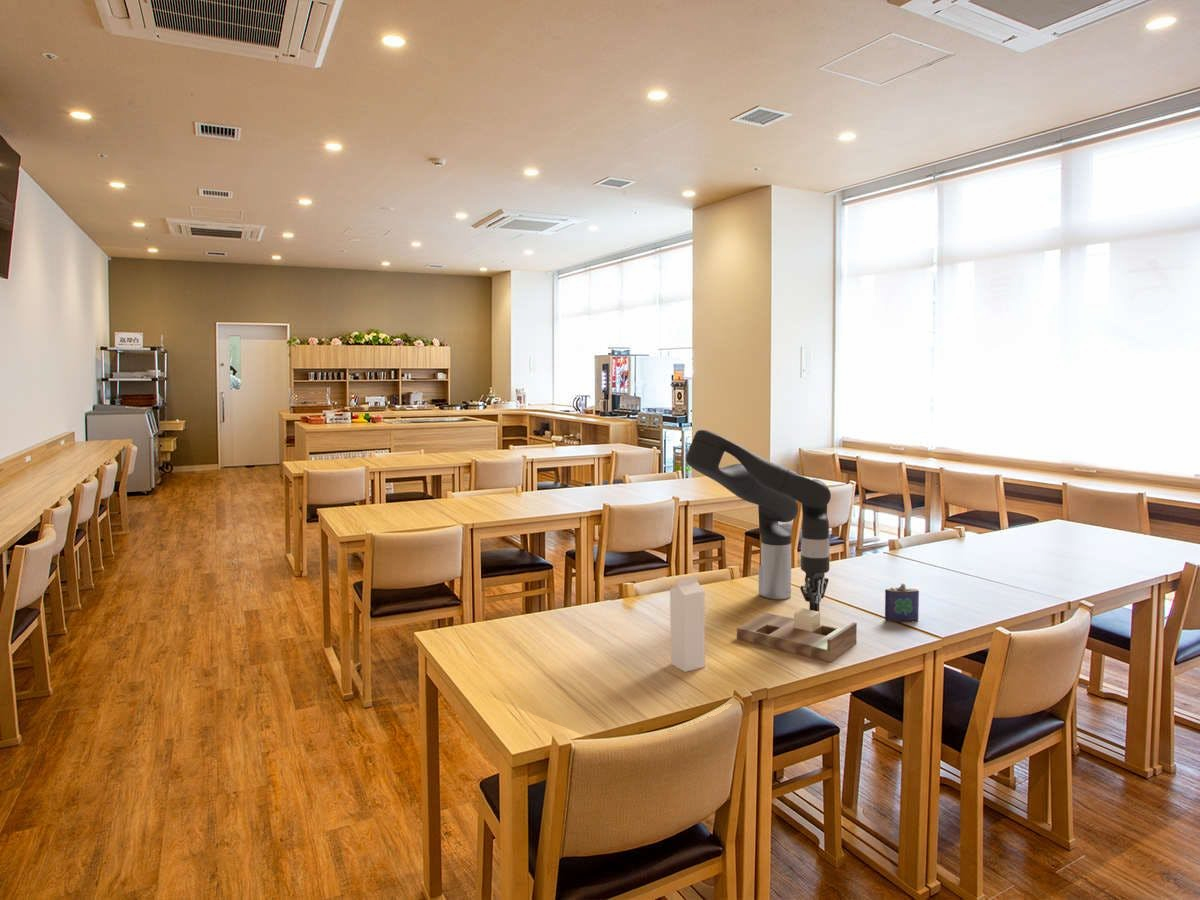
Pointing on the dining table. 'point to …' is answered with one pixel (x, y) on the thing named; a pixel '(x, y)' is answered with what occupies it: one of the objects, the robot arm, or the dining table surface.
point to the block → (807, 619)
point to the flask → (901, 604)
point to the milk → (687, 624)
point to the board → (798, 637)
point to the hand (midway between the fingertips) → (814, 615)
